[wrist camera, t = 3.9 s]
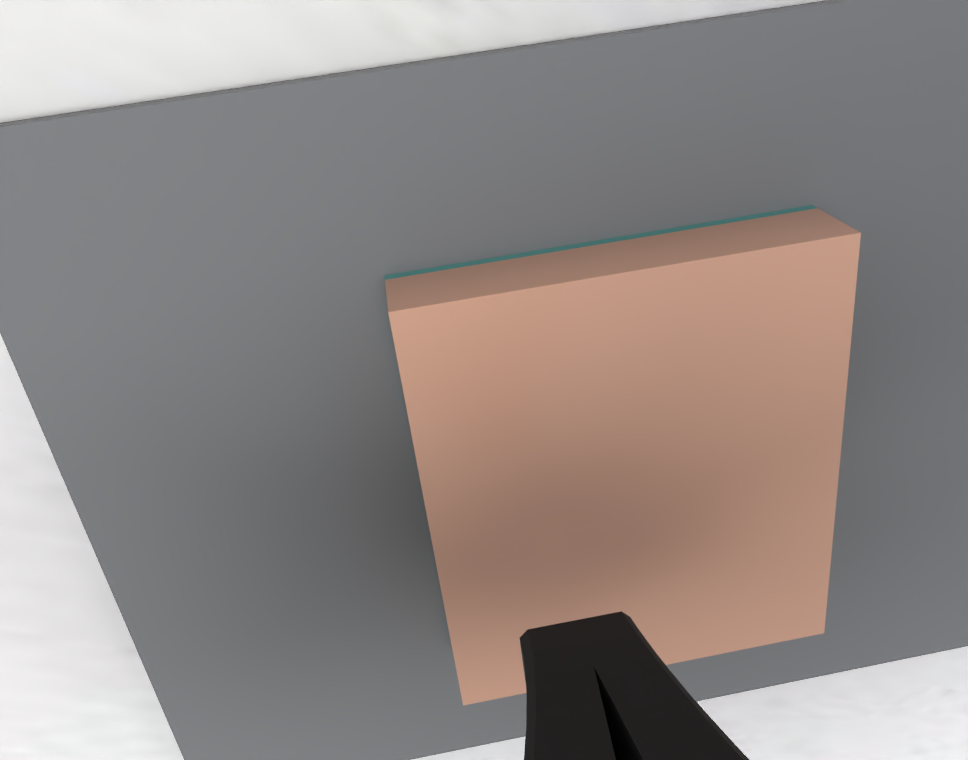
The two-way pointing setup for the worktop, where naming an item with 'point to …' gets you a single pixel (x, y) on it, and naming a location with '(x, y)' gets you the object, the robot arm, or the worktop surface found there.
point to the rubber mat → (372, 357)
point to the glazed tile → (632, 434)
